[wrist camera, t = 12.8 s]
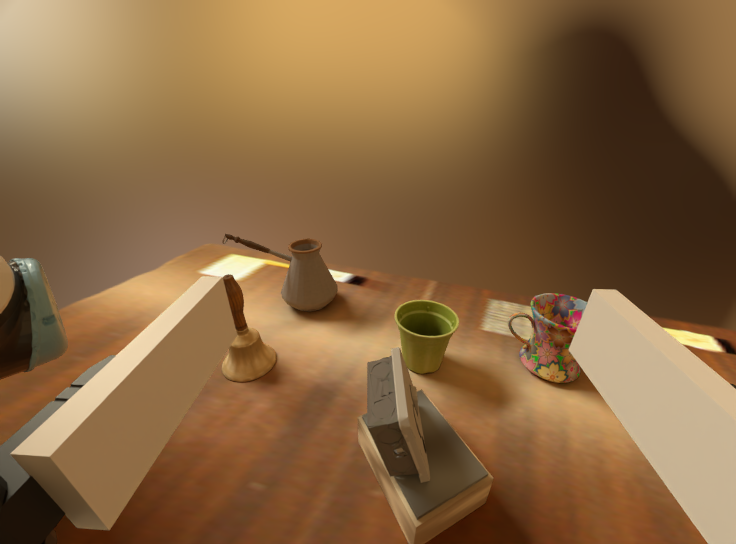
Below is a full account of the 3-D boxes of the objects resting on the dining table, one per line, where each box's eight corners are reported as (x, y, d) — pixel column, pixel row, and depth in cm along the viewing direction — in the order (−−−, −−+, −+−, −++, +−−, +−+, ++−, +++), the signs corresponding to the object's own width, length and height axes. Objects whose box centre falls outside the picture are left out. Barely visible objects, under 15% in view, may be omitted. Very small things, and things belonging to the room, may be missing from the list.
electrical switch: (431, 486, 29) (430, 421, 25) (376, 490, 29) (366, 425, 25) (417, 402, 37) (415, 342, 33) (374, 405, 38) (366, 346, 33)
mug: (567, 349, 53) (588, 295, 48) (592, 393, 45) (620, 334, 40) (493, 341, 55) (505, 289, 50) (504, 381, 47) (520, 324, 42)
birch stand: (358, 441, 38) (357, 414, 36) (419, 412, 42) (422, 386, 40) (412, 551, 29) (416, 524, 27) (485, 502, 32) (494, 475, 30)
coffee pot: (340, 287, 71) (337, 224, 64) (334, 317, 61) (330, 246, 54) (247, 286, 71) (234, 223, 64) (226, 316, 61) (207, 246, 54)
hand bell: (276, 376, 48) (258, 286, 40) (218, 387, 46) (188, 295, 38) (276, 341, 55) (261, 259, 47) (226, 349, 53) (202, 265, 46)
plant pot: (408, 334, 56) (411, 293, 52) (459, 353, 52) (467, 310, 48) (382, 366, 49) (383, 322, 45) (438, 392, 45) (445, 346, 41)
